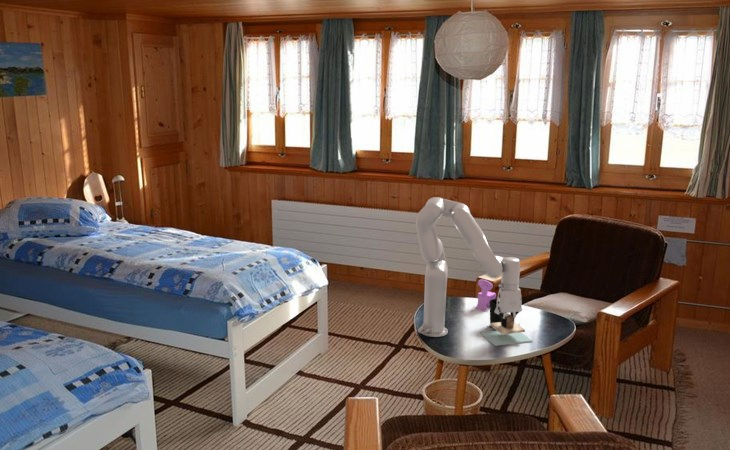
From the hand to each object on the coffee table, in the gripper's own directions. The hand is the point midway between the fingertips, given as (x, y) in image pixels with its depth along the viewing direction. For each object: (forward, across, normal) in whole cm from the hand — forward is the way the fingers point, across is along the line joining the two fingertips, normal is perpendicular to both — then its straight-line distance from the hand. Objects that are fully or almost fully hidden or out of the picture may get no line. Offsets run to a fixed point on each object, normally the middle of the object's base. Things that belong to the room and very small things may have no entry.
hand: (507, 325), depth 287 cm
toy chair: (+6, +9, +38) cm, 39 cm away
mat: (+6, 0, 0) cm, 6 cm away
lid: (+1, 0, 0) cm, 1 cm away
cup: (+6, +2, +13) cm, 15 cm away
